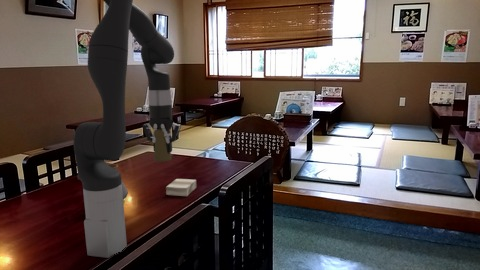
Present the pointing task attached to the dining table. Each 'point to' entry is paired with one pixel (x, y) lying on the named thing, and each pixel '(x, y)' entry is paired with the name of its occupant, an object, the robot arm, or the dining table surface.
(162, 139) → the cork
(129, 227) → the dining table surface
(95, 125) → the robot arm
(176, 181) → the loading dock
